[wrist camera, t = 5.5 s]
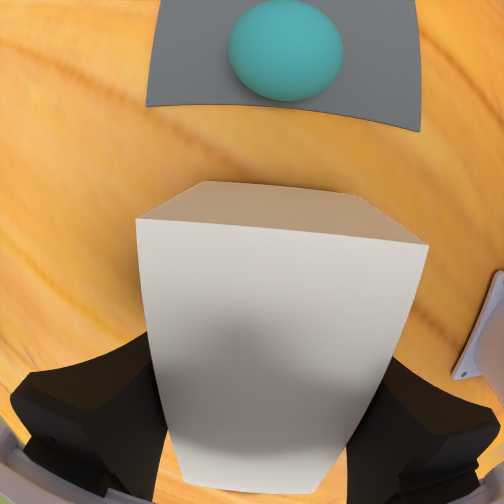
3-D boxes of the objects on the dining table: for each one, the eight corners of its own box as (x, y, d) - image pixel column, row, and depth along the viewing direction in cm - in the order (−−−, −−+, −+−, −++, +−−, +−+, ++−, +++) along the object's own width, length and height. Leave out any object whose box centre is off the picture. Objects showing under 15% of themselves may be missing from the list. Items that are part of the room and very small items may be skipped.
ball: (366, 28, 5) (340, 129, 9) (339, -3, 7) (326, 74, 11) (215, 16, 6) (224, 121, 9) (232, -11, 7) (236, 68, 11)
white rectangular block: (356, 195, 10) (429, 245, 5) (307, 407, 14) (312, 493, 9) (203, 180, 10) (135, 218, 5) (206, 399, 15) (184, 482, 9)
